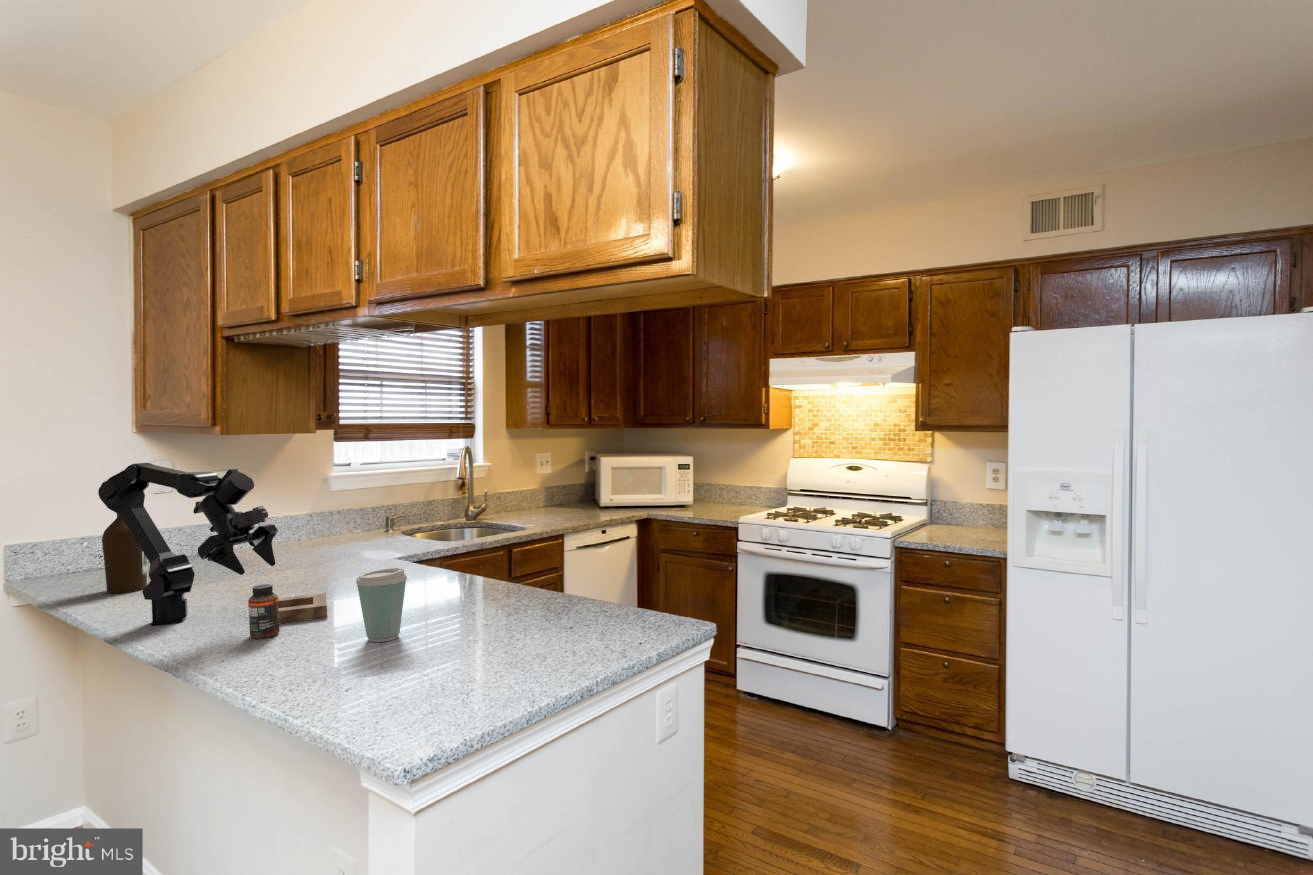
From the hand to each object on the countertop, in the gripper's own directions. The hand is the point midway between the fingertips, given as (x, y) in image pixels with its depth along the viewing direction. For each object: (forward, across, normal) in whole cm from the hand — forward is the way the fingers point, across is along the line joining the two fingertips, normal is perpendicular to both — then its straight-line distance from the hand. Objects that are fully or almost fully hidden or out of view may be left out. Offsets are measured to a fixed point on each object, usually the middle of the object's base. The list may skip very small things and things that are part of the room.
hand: (259, 569), depth 169 cm
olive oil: (-32, +24, +63) cm, 74 cm away
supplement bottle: (+14, -5, +4) cm, 16 cm away
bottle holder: (+11, +11, +8) cm, 18 cm away
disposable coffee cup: (+32, -1, -18) cm, 37 cm away
